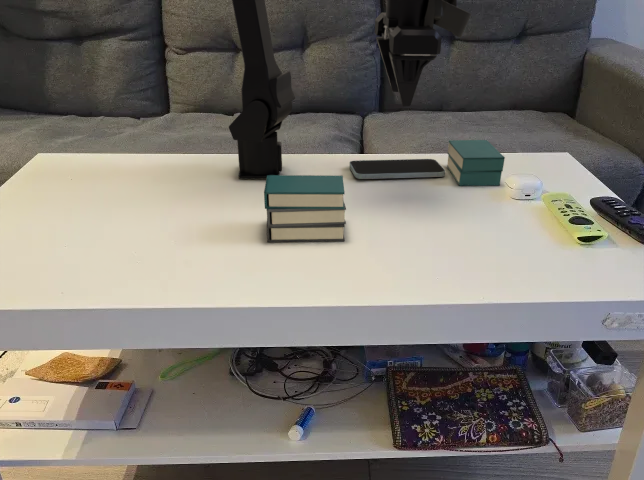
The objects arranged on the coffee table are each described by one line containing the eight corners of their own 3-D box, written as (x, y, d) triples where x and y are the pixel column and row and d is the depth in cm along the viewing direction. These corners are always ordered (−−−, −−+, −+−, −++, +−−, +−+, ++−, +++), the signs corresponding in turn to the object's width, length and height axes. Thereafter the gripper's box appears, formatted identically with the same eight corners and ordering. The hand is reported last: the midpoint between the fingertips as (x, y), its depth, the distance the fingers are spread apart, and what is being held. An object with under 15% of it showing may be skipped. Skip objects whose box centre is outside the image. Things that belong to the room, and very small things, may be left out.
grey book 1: (267, 226, 85) (267, 210, 84) (266, 208, 90) (265, 192, 89) (345, 224, 86) (346, 207, 85) (339, 206, 91) (340, 190, 90)
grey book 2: (267, 242, 86) (266, 226, 85) (268, 223, 92) (267, 207, 90) (344, 241, 87) (344, 225, 86) (341, 222, 92) (341, 207, 91)
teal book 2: (502, 171, 105) (504, 157, 104) (462, 172, 104) (463, 158, 103) (484, 153, 113) (486, 139, 112) (447, 153, 112) (448, 140, 111)
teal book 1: (264, 208, 84) (263, 191, 83) (267, 191, 89) (267, 175, 88) (344, 209, 84) (344, 192, 83) (342, 191, 90) (342, 175, 88)
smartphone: (447, 172, 108) (356, 174, 106) (446, 177, 109) (356, 180, 107) (434, 158, 114) (348, 160, 112) (433, 163, 115) (348, 166, 113)
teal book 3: (499, 185, 106) (501, 171, 105) (459, 185, 106) (460, 172, 104) (484, 166, 114) (486, 153, 113) (446, 166, 114) (448, 153, 112)
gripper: (488, -20, 81) (471, 114, 90) (453, -31, 96) (441, 85, 105) (398, -22, 80) (389, 114, 89) (377, -32, 95) (371, 85, 104)
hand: (400, 98), depth 97 cm, fingers open, 9 cm apart
